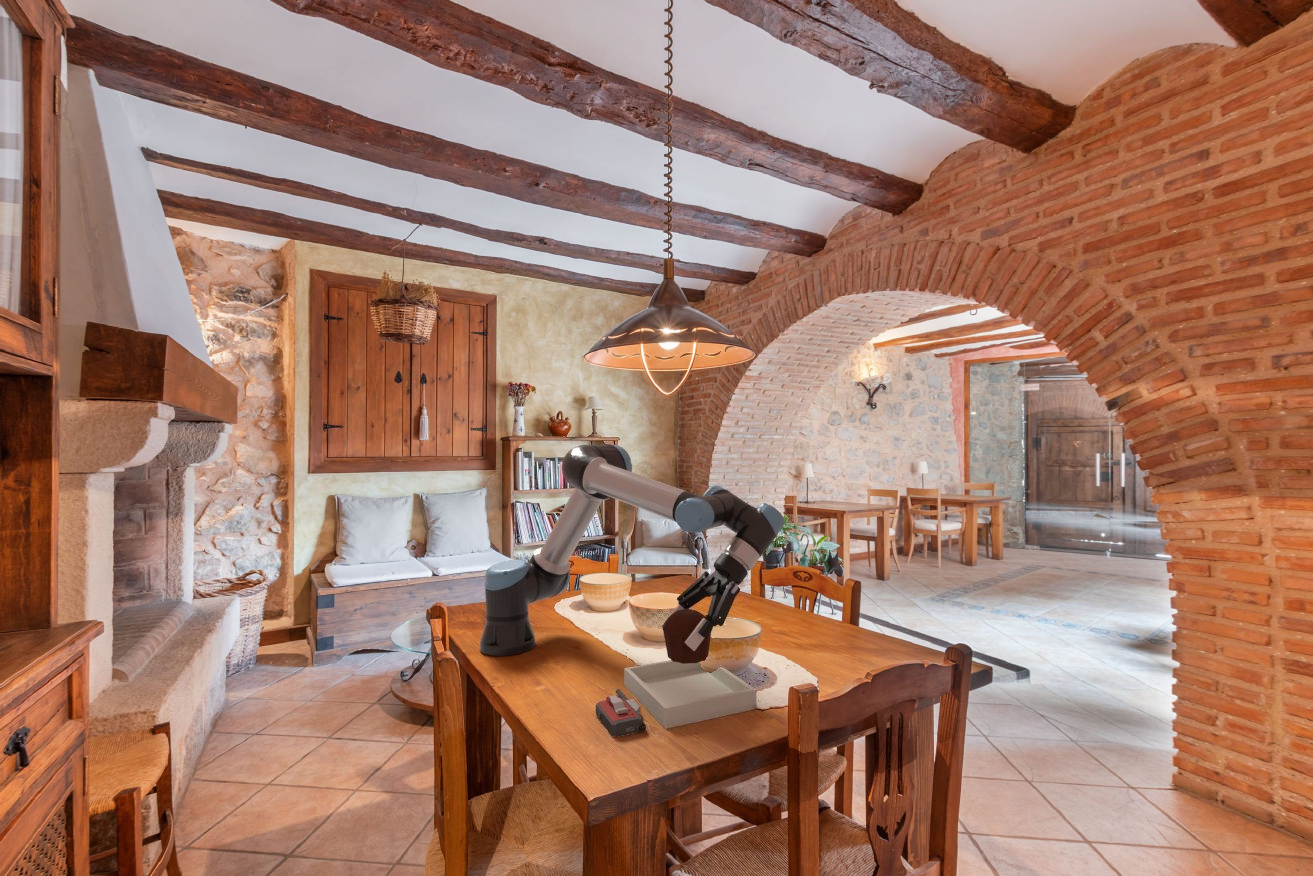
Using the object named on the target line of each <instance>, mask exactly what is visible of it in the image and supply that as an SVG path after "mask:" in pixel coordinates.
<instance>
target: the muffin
mask: <svg viewBox="0 0 1313 876" xmlns="http://www.w3.org/2000/svg"><path fill="white" fill-rule="evenodd" d="M672 613H673V612H672ZM672 613H671V614H672ZM671 614H670V615H669V616H668V617H667V618H666V619H665V622H664V623H663V624H662V625H663V626H662V625H661V628H662V631H663V636H664V642H665V648H666V654H667V658H668V659H669V660H672V661H673V662H679V663H682V664H687V663H698V662H701V661H705V660H706V658H707V657H709V652H710V646H711V645H710V644H711V637H712V636H711V635H712V631H713V629H714V628H712V629H711V630H710V632H709V633H708V634H707V636H706V637H705V638H704V639H703V640H702V642H701V643H700V644H699V646H698V647H697V648H696V650H695V651H693V650H692V649H691V648H690V647H689V646H688V645H687V644H686V643H684V642H685V641H686V640H687V639H688V637H689V636H690V635H691V633H692V632H693V631H694V629H695V628H696V627H697V625H698V624H699V623H700V621H701V620H702V619H703V618H705V617H706V616H705V614H703V613H702V612H700V611H698V610H696V609H691V608H689V609H683V610H678V611H676V612H675V613H673V614H672V615H671ZM704 616H705V617H704ZM705 619H706V618H705ZM706 620H707V619H706Z"/></svg>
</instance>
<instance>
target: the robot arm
mask: <svg viewBox="0 0 1313 876" xmlns="http://www.w3.org/2000/svg"><path fill="white" fill-rule="evenodd" d="M561 471H562V476H563V478H564V480H565V481H566V482H567V484H569V486H571V487H573V488H574V489H573V491H572V493H571V495H570V496H569V498H568V500H567V502H566V503H565V506H564V507H563V509H562V511H561V513H560V515H559V516H558V518H557V520H556V522H555V523H554V525H553V527H552V529H551V531H550V533H549V535H548V537H547V539H546V541H545V542H544V544H543V545H542V546H541V547H537V548H536V549H535V550H534V552H533V553H532V556H531V557H530V559H529V560H528V561H527V562H526V561H525V560H523V559H522V560H521V559H511V560H507V561H506V560H505V561H501V562H497V563H495V564H493V565H491V566H490V567H489V568H487V569H486V571H485V581H484V590H485V624H484V626H483V630H482V634H481V636H480V640H479V651H480V652H481V653H482V654H484V655H488V656H493V657H494V656H496V657H501V656H502V657H503V656H504V657H505V656H514V655H520V654H523V653H526V652H528V651H530V650H532V649H533V648H535V646H536V636H535V631H534V629H533V626H532V624H531V621H530V619H529V604H533V603H536V602H540V601H543V600H546V599H551V598H554V597H556V596H558V595H559V594H562V593H563V592H564V591H565V590H566V589H567V588H568V586H569V583H570V581H571V575H570V573H571V569H570V568H571V564H570V562H569V561H570V559H571V557H572V555H573V553H574V552H575V550H576V548H577V546H578V544H579V542H580V541H581V539H582V537H583V535H584V534H585V532H586V530H587V529H588V527H589V525H590V523H591V521H592V519H593V518H594V516H595V515H596V513H597V511H598V509H599V508H600V506H601V504H602V502H603V501H607V500H610V498H612V499H615V500H617V501H620V502H622V503H625V504H627V505H631V506H633V507H636V508H638V509H641V510H643V511H645V512H649V513H651V514H654V515H657V516H660V517H662V518H665V519H667V520H670V521H673V522H675V523H676V524H677V525H678V526H679V528H680V529H681V530H683V531H684V532H687V533H692V534H693V533H701V532H705V531H707V530H711V529H713V528H717V527H723V526H725V527H726V528H728V529H729V530H731V531H732V532H734V533H735V536H733V538H732V539H731V541H730V542H729V543H728V544H727V546H726V547H725V548H724V550H723V553H721V554H720V555H719V556H718V557H717V559H716V560H715V561H714V563H713V568H714V571H713V572H712V573H711V574H710V573H709V571H707V570H705V571H704V572H703V573H702V574H701V576H700V577H699V578H697V579H696V580H695V581H694V582H693V583H692V584H691V585H689V586H688V587H687V588H686V589H685V590H684V591H683V592H682V593H681V594H680V595H679V596H677V598H676V600H677V602H678V603H677V604H678V605H677V606H676V607H675V608H674V610H673V611H672V612H671V614H670V615H672V614H673V613H675V612H676V611H678V610H683V609H691V608H692V607H694V606H695V605H696V604H698V603H699V602H701V601H703V600H704V599H706V598H710V597H711V596H712V597H711V601H710V604H709V608H708V611H707V614H704V617H705V618H706V619H707V620H706V619H705V618H703V619H702V620H701V621H700V623H699V624H698V625H697V627H696V628H695V629H694V631H693V632H692V633H691V635H690V636H689V637H688V639H687V640H686V641H685V642H684V643H686V644H687V645H688V646H689V647H690V648H691V649H692V650H693V651H695V650H696V648H697V647H698V646H699V644H700V643H701V642H702V640H703V639H704V638H705V637H706V636H707V634H708V633H709V632H710V630H711V629H712V628H713V627H717V626H719V627H722V626H724V624H725V622H726V619H727V617H728V614H729V613H730V610H731V608H732V605H733V603H734V601H735V599H736V597H737V596H738V594H739V593H740V591H741V588H740V587H739V586H740V585H741V584H742V583H743V581H744V580H745V579H746V577H747V576H748V572H750V571H751V570H752V569H753V567H754V566H756V565H757V562H758V561H759V559H760V558H761V557H762V556H763V554H764V553H765V551H766V550H767V549H768V548H769V546H771V544H772V543H773V541H774V540H775V539H776V538H777V537H778V534H779V533H780V531H781V530H782V529H783V527H784V525H785V523H786V522H785V517H784V515H783V514H782V513H781V512H780V510H778V509H777V508H776V507H775V506H773V505H772V504H768V503H766V502H761V503H760V504H758V505H757V506H756V507H755V506H753V505H751V504H749V503H747V502H746V501H745V500H743V499H742V498H740V497H739V496H737V495H735V494H734V493H732V492H731V491H729V489H726V488H723V487H722V486H720V485H712V486H711V487H710V488H708V489H707V490H706V491H705V492H704V494H703V496H702V495H699V494H695V493H693V492H690V491H687V490H685V489H681V488H678V487H675V486H673V485H670V484H667V483H664V482H662V481H659V480H655V479H652V478H650V477H647V476H643V475H641V474H638V473H635V472H633V464H632V459H631V456H630V455H629V453H628V451H627V450H626V449H625V448H623V447H622V446H620V445H617V444H611V443H606V444H580V445H577V446H574V447H572V448H571V449H570V450H569V451H568V452H567V453H566V454H565V456H564V457H563V460H562V462H561ZM662 626H663V624H662V625H661V627H662ZM713 629H714V628H713ZM713 629H712V630H713Z"/></svg>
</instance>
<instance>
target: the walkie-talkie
mask: <svg viewBox="0 0 1313 876" xmlns="http://www.w3.org/2000/svg"><path fill="white" fill-rule="evenodd" d="M615 693H616V694H613V695H610V696H609V695H608V696H606V698H605V700H600V701H598V702H597V703H596V704H595V716H596V715H597V716H596V717H597V719H598V720H599V722H600V721H601V722H600V723H601V724H602V726H603V727H604V729H607V730H608V731H607V730H606V731H607V733H609V735H610V737H612V736H616V737H615V738H618V737H617V736H620V737H623V736H622V735H624V736H628V735H627V734H629V735H633V734H632V733H634V734H638V733H641V732H644V731H646V730H647V724H646V723H645V722H644V721H643V718H642V717H641V716H640V715H641V706H640V705H639V704H638V702H636V699H634V698H632V699H630V698H628V697H627V696H626V695H625V693H624V692H623V691H622V690H621V689H620V688H617V689H616V690H615Z"/></svg>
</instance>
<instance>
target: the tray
mask: <svg viewBox="0 0 1313 876" xmlns="http://www.w3.org/2000/svg"><path fill="white" fill-rule="evenodd" d="M722 667H723V666H722ZM722 667H720V668H719V667H718V669H717V670H716V671H714V672H712V673H709V672H706V671H704V670H703V669H702V667H701V664H700V663H699V662H698V663H687V664H682V663H679V662H673V661H672V660H671V659H669V660H662V661H658V662H653V663H647V664H642V665H641V664H640V665H635V666H629V667H624V668H623V670H624V671H623V675H624V676H623V677H624V678H623V679H624V683H623V684H624V687H625V688H626V689H627V690H628V691H629V692H630V693H631V694H632V695H633V696H634V697H635V698H636V699H637V700H638V701H639V703H640V704H641V705H643V707H644V708H645V709H646V710H647V711H648V712H649V714H650V715H652V716H653V717H654V718H655V719H656V720H657V721H658V722H659V724H660V725H662V727H663V728H664V729H671V728H676V727H680V726H685V725H690V724H694V723H699V722H703V721H707V720H708V721H709V720H712V719H717V718H721V717H725V716H731V715H734V714H739V713H743V712H749V711H752V710H753V711H754V710H757V708H758V706H757V705H758V704H757V703H758V702H757V701H758V700H757V689H756V688H754V687H753V686H752V685H750V684H749V683H747V682H745V681H744V680H743V679H742V678H740V677H738V676H737V675H736V674H734V673H732V672H730V671H729V670H728V669H726V668H725V667H723V668H722Z"/></svg>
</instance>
